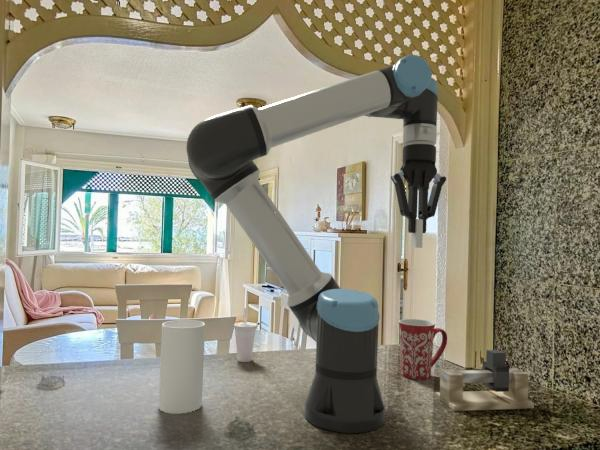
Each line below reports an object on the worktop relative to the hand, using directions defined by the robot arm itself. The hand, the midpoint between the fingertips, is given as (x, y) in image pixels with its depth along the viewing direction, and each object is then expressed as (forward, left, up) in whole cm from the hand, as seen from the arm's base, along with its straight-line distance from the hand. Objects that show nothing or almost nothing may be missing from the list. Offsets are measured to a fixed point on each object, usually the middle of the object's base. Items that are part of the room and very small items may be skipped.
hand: (416, 247), depth 103 cm
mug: (+7, +10, -33) cm, 35 cm away
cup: (-51, -6, -33) cm, 61 cm away
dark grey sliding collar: (+15, -9, -29) cm, 34 cm away
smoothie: (-37, +26, -33) cm, 56 cm away
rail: (+12, -9, -32) cm, 36 cm away
